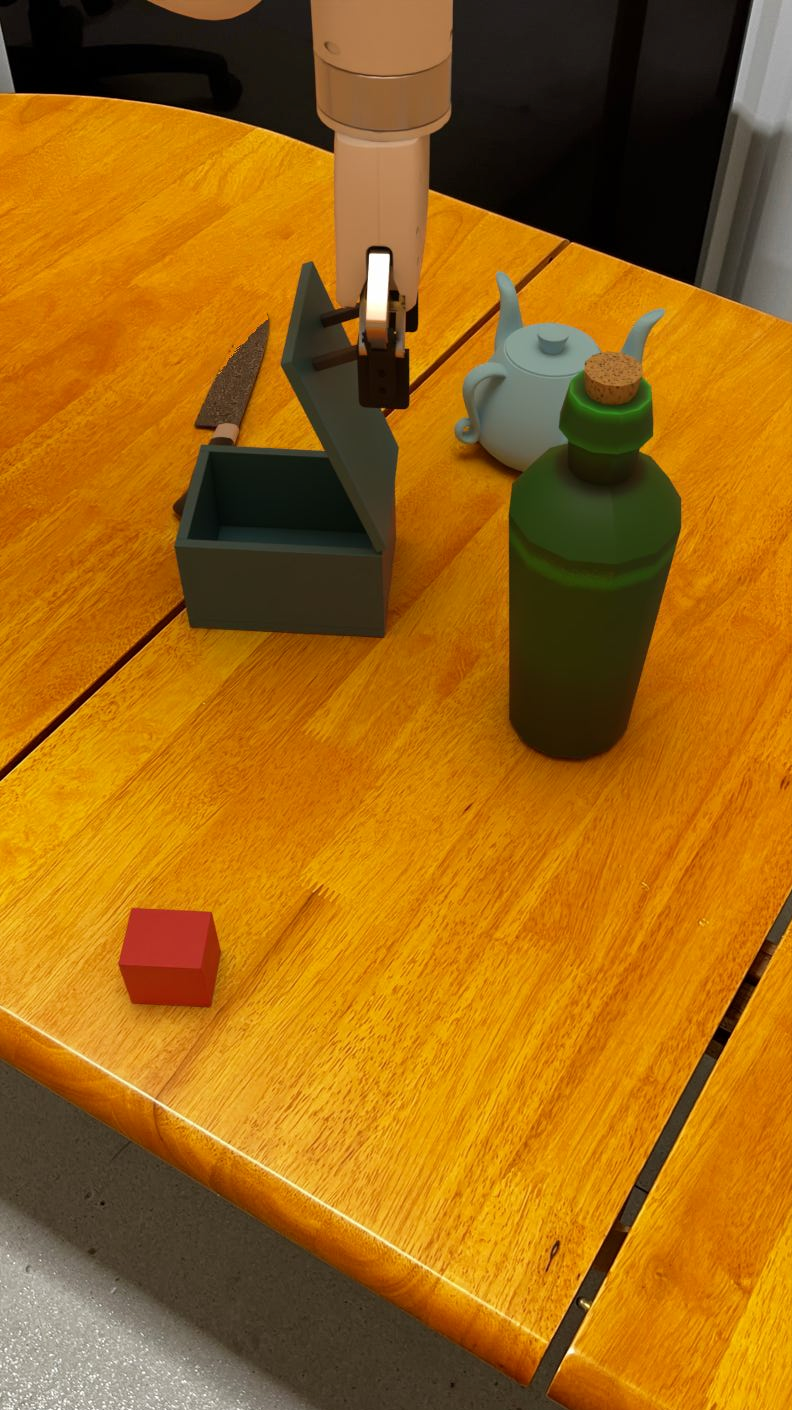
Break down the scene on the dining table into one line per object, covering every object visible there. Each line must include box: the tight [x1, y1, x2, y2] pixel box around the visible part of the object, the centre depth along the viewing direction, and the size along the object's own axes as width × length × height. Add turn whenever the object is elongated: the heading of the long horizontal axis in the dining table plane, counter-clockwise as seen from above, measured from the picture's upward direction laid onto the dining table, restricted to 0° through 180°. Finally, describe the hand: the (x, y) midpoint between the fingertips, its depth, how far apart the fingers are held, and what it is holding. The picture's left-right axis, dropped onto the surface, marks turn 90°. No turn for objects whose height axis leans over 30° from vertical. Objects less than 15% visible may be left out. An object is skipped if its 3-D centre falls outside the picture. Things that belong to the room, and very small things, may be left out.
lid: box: [279, 260, 400, 552], centre depth 89 cm, size 15×12×6 cm
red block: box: [117, 907, 222, 1008], centre depth 78 cm, size 5×4×4 cm
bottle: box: [508, 351, 682, 759], centre depth 83 cm, size 11×11×28 cm
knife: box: [172, 319, 270, 520], centre depth 114 cm, size 32×4×1 cm, turn 175°
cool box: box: [173, 444, 397, 638], centre depth 98 cm, size 15×12×8 cm
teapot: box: [453, 270, 666, 473], centre depth 109 cm, size 15×15×10 cm
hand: (389, 365), depth 86 cm, fingers open, 8 cm apart
